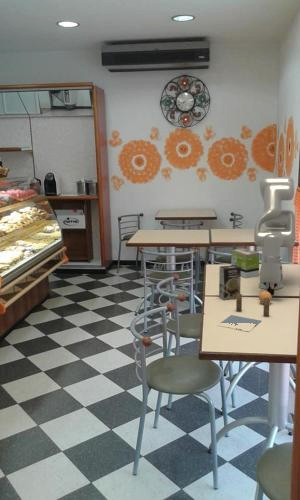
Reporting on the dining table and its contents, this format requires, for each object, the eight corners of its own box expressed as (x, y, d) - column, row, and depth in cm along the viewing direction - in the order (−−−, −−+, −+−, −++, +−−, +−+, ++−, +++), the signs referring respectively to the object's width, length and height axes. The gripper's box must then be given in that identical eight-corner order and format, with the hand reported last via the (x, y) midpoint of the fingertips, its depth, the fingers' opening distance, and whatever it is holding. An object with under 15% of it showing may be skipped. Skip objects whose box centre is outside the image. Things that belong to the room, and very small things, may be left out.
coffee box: (224, 300, 211) (224, 268, 207) (218, 296, 217) (218, 266, 213) (240, 298, 213) (241, 267, 210) (235, 294, 219) (235, 264, 216)
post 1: (237, 309, 197) (237, 293, 195) (242, 310, 195) (242, 294, 194) (235, 311, 195) (235, 294, 193) (240, 312, 193) (240, 295, 192)
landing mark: (231, 315, 190) (231, 314, 190) (261, 321, 182) (261, 320, 182) (217, 325, 179) (217, 325, 179) (248, 332, 171) (248, 331, 171)
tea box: (230, 273, 261) (230, 249, 258) (243, 271, 266) (244, 247, 263) (245, 278, 248) (246, 254, 245) (259, 276, 252) (260, 252, 249)
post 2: (264, 314, 189) (264, 297, 188) (269, 315, 188) (270, 298, 186) (262, 316, 187) (262, 299, 186) (267, 317, 186) (268, 299, 184)
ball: (261, 300, 208) (261, 288, 207) (273, 302, 205) (273, 290, 204) (256, 304, 203) (257, 292, 202) (269, 306, 200) (269, 294, 199)
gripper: (289, 259, 204) (288, 296, 207) (259, 256, 213) (258, 292, 216) (284, 262, 198) (283, 300, 201) (253, 259, 207) (253, 295, 210)
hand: (270, 295), depth 209 cm, fingers closed
